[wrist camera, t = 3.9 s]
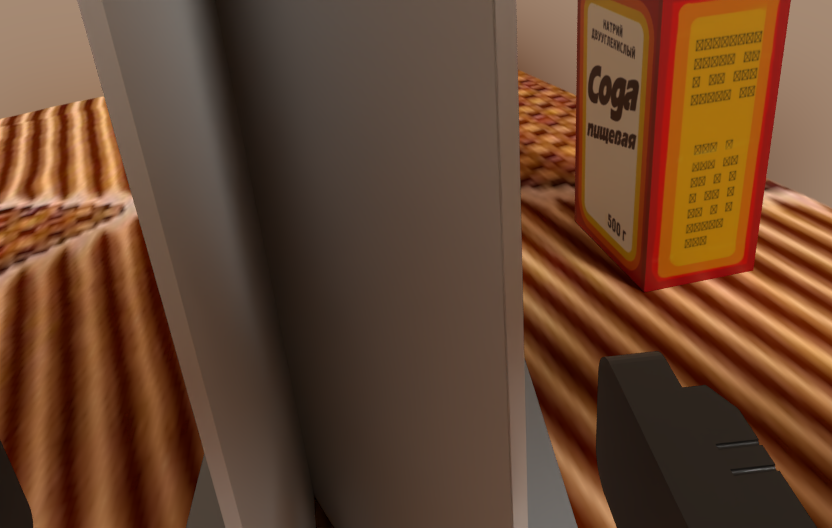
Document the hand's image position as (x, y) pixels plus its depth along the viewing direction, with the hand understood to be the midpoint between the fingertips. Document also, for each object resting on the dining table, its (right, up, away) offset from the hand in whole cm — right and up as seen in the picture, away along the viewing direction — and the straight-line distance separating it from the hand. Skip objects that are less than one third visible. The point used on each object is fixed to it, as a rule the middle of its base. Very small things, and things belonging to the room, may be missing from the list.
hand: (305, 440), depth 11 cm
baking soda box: (+16, +3, +37) cm, 41 cm away
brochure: (+1, -10, +16) cm, 19 cm away
